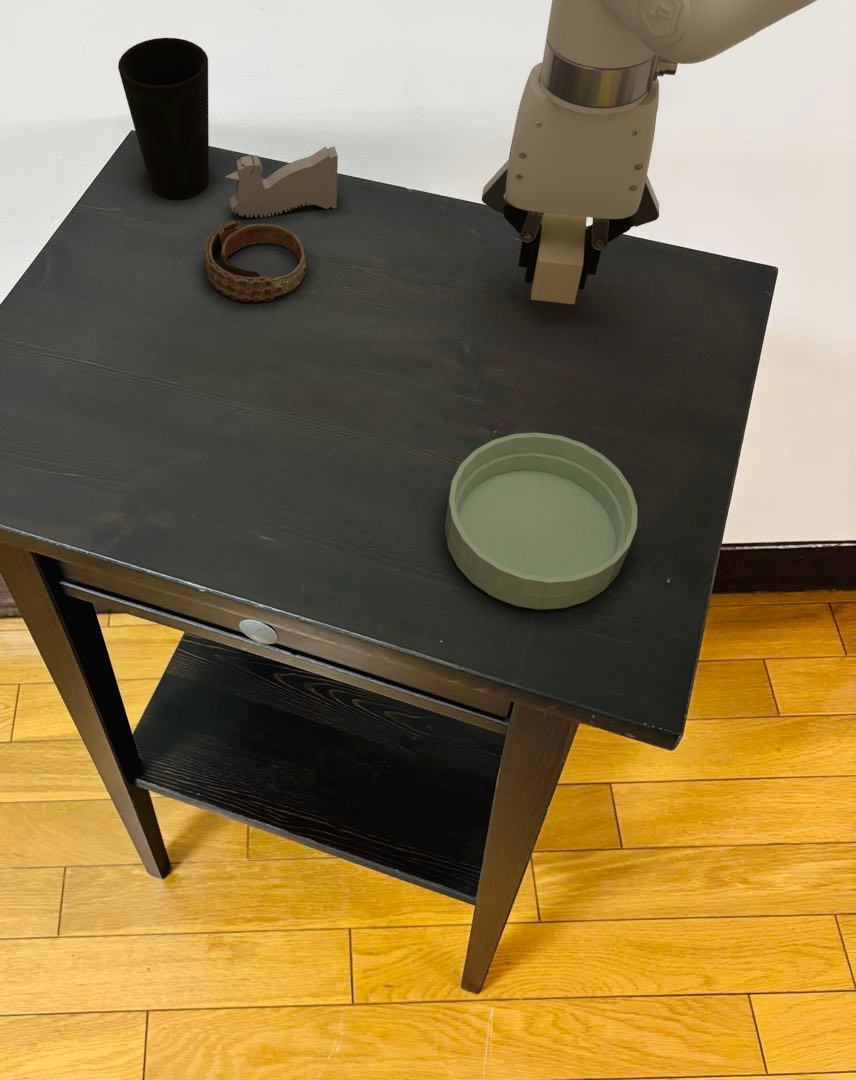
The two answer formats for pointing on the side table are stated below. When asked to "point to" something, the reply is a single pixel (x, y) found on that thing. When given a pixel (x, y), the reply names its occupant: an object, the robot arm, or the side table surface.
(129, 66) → the cup
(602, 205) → the robot arm
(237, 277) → the bracelet
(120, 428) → the side table surface
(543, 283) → the tan rectangular block
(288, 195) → the serrated bird cutout
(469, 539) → the bowl
